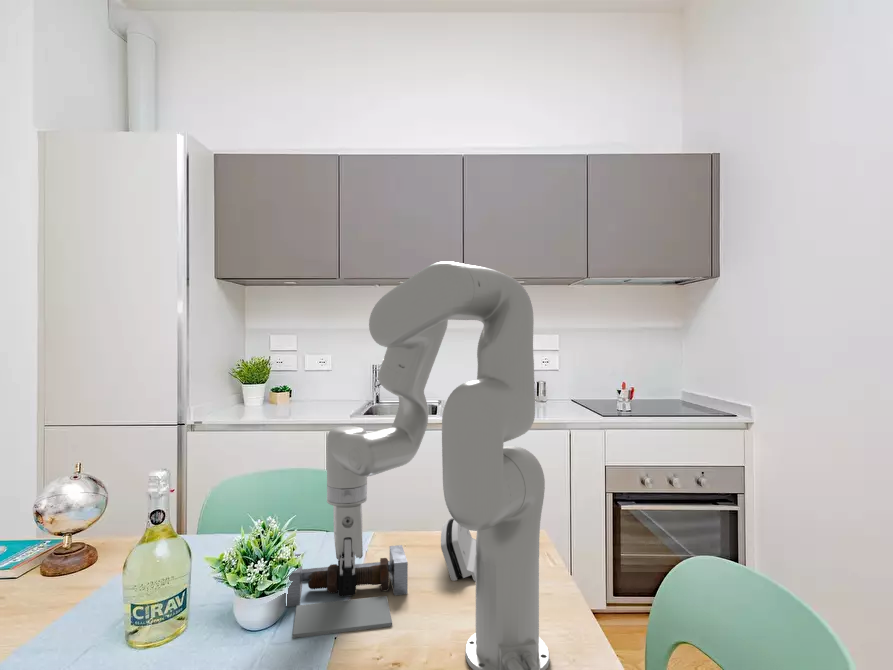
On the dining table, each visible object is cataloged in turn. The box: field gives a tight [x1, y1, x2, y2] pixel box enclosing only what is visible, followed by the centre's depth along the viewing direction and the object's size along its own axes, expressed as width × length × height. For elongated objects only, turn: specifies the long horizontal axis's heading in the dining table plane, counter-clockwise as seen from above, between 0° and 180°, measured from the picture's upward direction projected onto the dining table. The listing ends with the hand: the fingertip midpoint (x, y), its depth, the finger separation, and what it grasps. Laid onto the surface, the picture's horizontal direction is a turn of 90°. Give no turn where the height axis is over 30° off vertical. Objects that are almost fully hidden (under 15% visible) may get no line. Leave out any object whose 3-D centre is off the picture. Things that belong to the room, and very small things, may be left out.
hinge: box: [440, 517, 476, 582], centre depth 111 cm, size 17×5×10 cm, turn 173°
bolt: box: [307, 557, 390, 594], centre depth 99 cm, size 6×5×15 cm
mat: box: [292, 595, 393, 639], centre depth 89 cm, size 9×16×1 cm, turn 103°
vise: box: [286, 544, 409, 608], centre depth 100 cm, size 11×22×6 cm, turn 102°
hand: (346, 586), depth 99 cm, fingers closed on bolt, 5 cm apart
